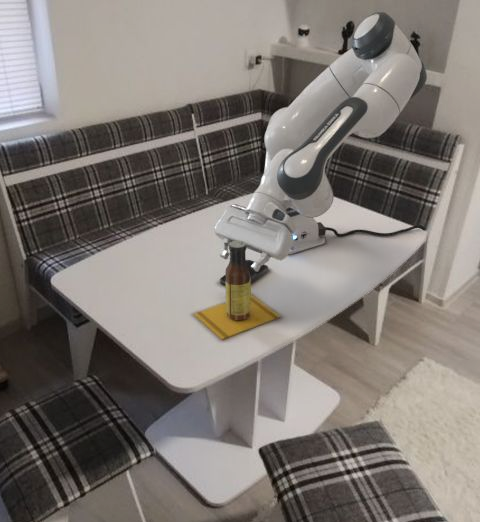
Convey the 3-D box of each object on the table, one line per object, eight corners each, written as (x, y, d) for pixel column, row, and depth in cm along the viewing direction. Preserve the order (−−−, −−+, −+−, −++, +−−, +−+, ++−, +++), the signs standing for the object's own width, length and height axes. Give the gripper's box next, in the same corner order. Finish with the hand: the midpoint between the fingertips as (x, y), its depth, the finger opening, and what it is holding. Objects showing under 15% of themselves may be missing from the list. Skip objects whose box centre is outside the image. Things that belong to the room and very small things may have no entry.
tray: (250, 295, 143) (250, 293, 143) (280, 317, 134) (280, 315, 134) (194, 315, 135) (193, 313, 135) (221, 340, 126) (221, 338, 126)
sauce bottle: (255, 314, 135) (258, 243, 123) (239, 324, 131) (241, 253, 119) (235, 305, 138) (237, 235, 126) (220, 315, 134) (220, 244, 122)
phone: (218, 279, 147) (247, 259, 157) (218, 283, 148) (247, 262, 158) (242, 288, 144) (269, 266, 153) (241, 291, 144) (269, 269, 154)
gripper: (224, 196, 129) (199, 246, 129) (294, 218, 119) (267, 272, 119) (235, 208, 135) (211, 255, 134) (303, 230, 125) (277, 281, 124)
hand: (238, 263), depth 127 cm, fingers open, 8 cm apart
